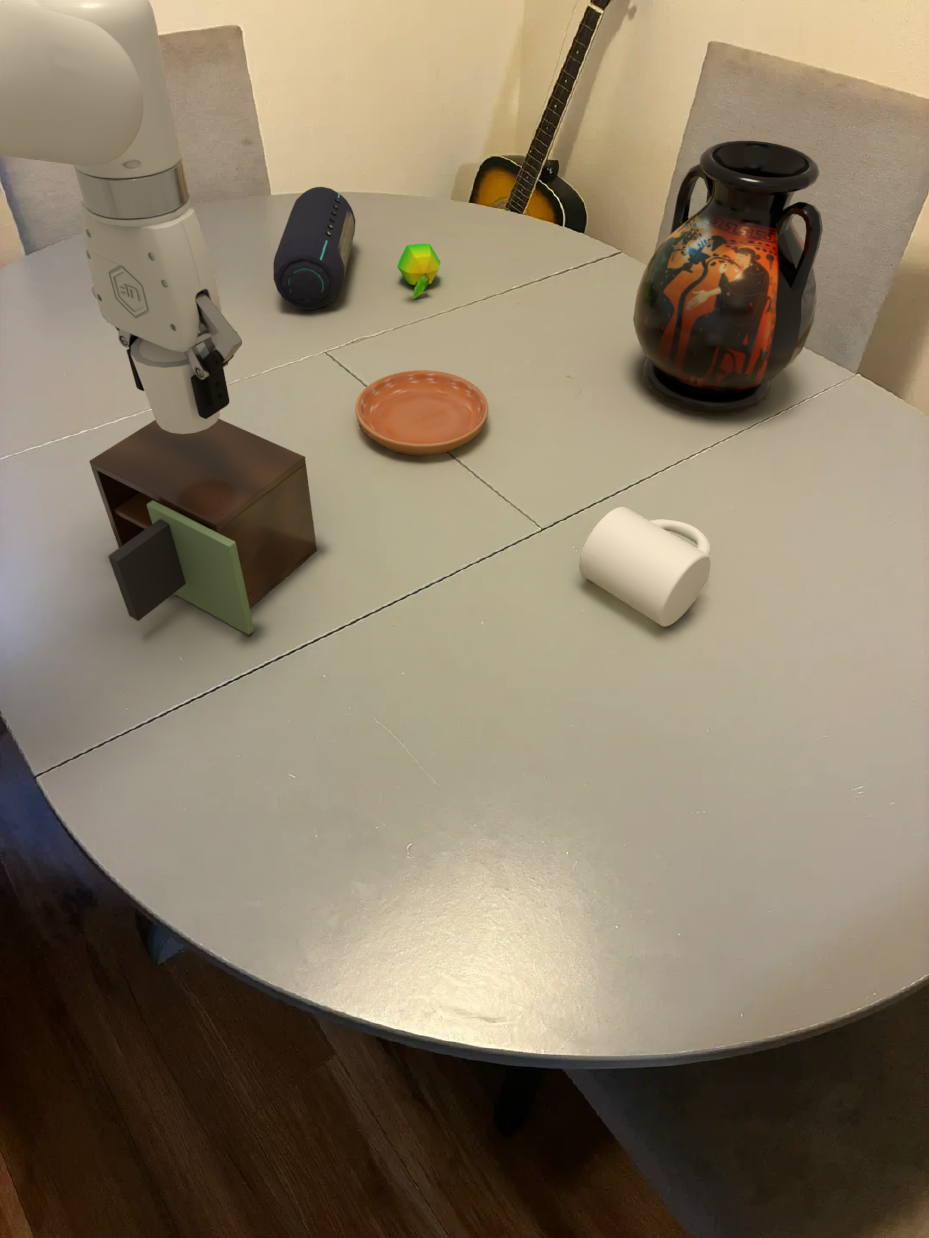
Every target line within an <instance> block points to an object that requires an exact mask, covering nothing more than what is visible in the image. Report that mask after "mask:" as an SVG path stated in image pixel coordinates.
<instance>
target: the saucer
mask: <svg viewBox="0 0 929 1238" xmlns="http://www.w3.org/2000/svg"><path fill="white" fill-rule="evenodd" d="M354 409H355V410H354V411H355V415H356V416H355V417H356V419H357V423H358V424H359V426H360V428H361V429H362V431H363V432H364V433H365V434H366V435H367V436H368V437H369V438H371V439H372V440H373V441H375V442H376V443H377V444H379V445H381V446H383V447H386V448H388V449H389V450H392V451H394V452H396V453H401V454H404V455H410V456H419V457H421V456H424V457H425V456H437V455H441V454H445V453H448V452H451V451H453V450H456V449H458V448H460V447H462V446H464V445H465V444H467V443H469V442H470V441H472V440H473V439H474V438H476V436H478V435H479V433H481V431H482V430H483V428H484V427H485V425H486V424H487V423H486V422H487V420H488V416H489V403H488V399H487V397H486V396H485V394H484V393H483V391H482V390H481V389H480V388H479V387H478V386H477V385H476V384H474V383H473V382H471V381H469V380H467V379H466V378H463V377H461V376H458V375H455V374H452V373H449V372H445V371H438V370H430V369H429V370H426V369H420V370H419V369H418V370H416V369H415V370H407V371H401V372H395V373H393V374H389V375H386V376H382V377H381V378H378V379H377V380H375V381H373V382H372V383H370V384H369V385H367V386H366V387H365V388H364V389H363V390H362V391H361V392H360V394H359V395H358V397H357V399H356V402H355V408H354Z"/></svg>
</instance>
